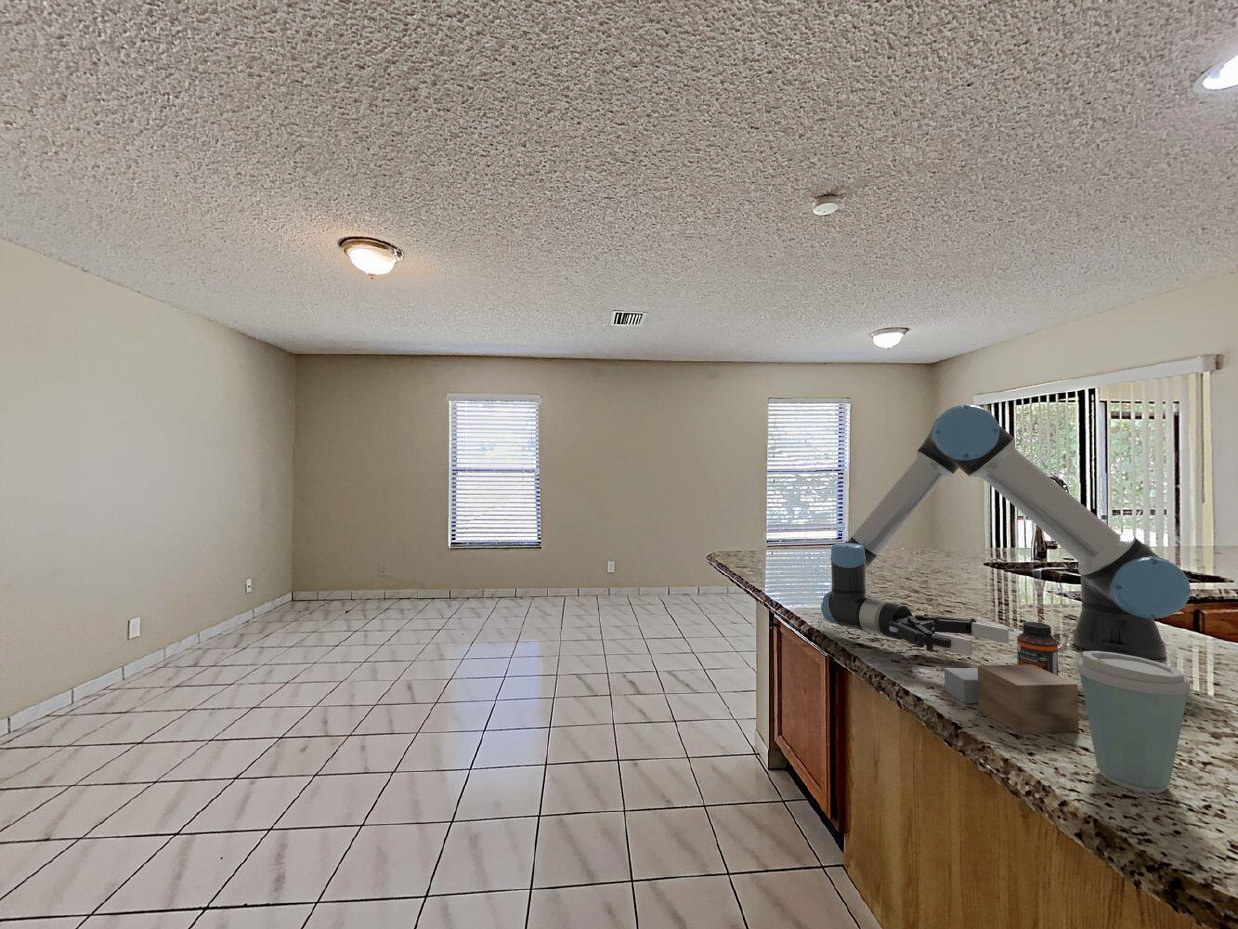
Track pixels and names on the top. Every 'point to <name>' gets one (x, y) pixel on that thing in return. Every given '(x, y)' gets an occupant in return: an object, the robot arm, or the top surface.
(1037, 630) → the supplement bottle
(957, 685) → the grey block
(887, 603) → the robot arm
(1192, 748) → the top surface
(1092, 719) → the disposable coffee cup
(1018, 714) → the walnut block
